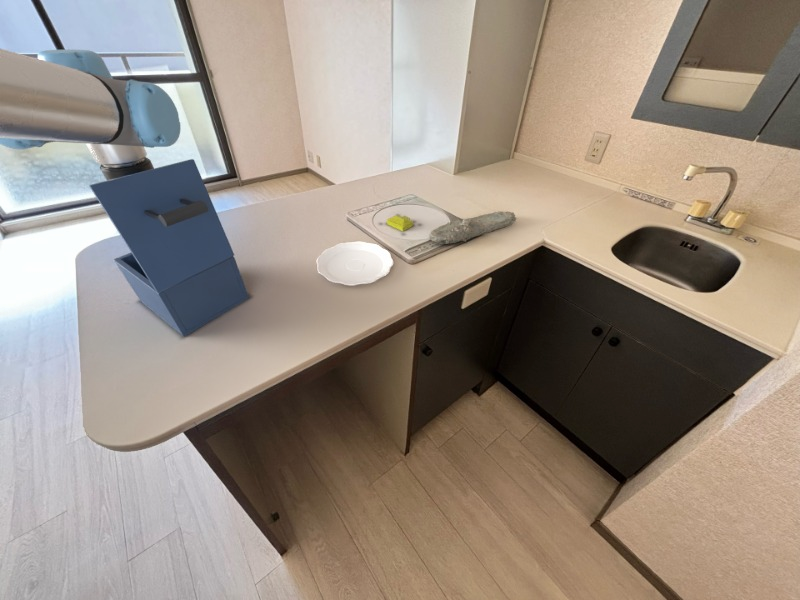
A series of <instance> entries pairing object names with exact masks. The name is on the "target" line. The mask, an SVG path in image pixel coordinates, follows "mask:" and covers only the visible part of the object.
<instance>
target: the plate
mask: <svg viewBox="0 0 800 600" xmlns="http://www.w3.org/2000/svg"><path fill="white" fill-rule="evenodd" d="M315 263H316V265H317V266H316V267H317V268H316V271H317V272H318V274H319V275H321V276H322V277H324V278H325V279H326V280H327V281H329V282H330V283H333V284H341V285H345V286H357V285H366V284H367V285H369V284H371V283H375V282H377V281H378V280H379V279H381V278H383V277H386V276H387V275H388V274H390V271H391V268H392V267H393V266H394V259H393V258H392V255H391V252H390V251H389V250H387V249H385V248H384V247H382V246H380V245H379V244H376V243H372V242H366V241H358V240H356V241H349V242H347V241H346V242H340V243H337V244H336V245H334V246H331V247H328V248H326V249H325V250H323V251H322V253H321V254H320V255H319V256H318V257H317V258H316V262H315Z"/></svg>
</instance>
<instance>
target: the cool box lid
mask: <svg viewBox="0 0 800 600" xmlns="http://www.w3.org/2000/svg"><path fill="white" fill-rule="evenodd" d="M88 187H89V188H90V190H91V191H92V193H93V195H94V196H95V198H96V200H97V201H98V202H99V204H100V206H101V207H102V209H103V210H104V212H105V213H106V215H107V217H108V219H109V220H110V222H111V223H112V224H113V226H114V228H115V229H116V231H117V233H118V234H119V236H120V237H121V239H122V240H123V242H124V244H125V245H126V247H127V248H128V250H129V251H130V253H132V254H133V256H134V257H135V259H136V260H137V262H138V264H139V265H140V267H141V268H142V270H143V271H144V273H145V275H146V276H147V278H148V279H149V281H150V282H151V284H152V285H153V287H154V289H155V290H156V291H157V292H160V291H162V290H164V289H166V288H168V287H170V286H172V285H174V284H176V283H178V282H181V281H183V280H185V279H187V278H189V277H191V276H193V275H195V274H197V273H199V272H201V271H203V270H205V269H207V268H209V267H211V266H213V265H215V264H218V263H220V262H222V261H224V260H226V259H228V258H230V257H232V256H234V257H235V253H234V251H233V248H232V246H231V243H230V241H229V239H228V237H227V234H226V232H225V229H224V227H223V225H222V222H221V221H220V218H219V216H218V213H217V211H216V208H215V205H214V204H213V201H212V199H211V197H210V194H209V192H208V190H207V187H206V185H205V183H204V180H203V177H202V176H201V173H200V171H199V168H198V166H197V164H196V161H195V159H193V158H190V159H186V160H183V161H178V162H175V163H170V164H166V165H162V166H158V167H154V169H151V170H147V171H143V172H139V173H135V174H131V175H127V176H123V177H119V178H115V179H111V180H104V181H100V182H96V183H92V184H88Z"/></svg>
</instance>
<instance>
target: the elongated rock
mask: <svg viewBox="0 0 800 600" xmlns="http://www.w3.org/2000/svg"><path fill="white" fill-rule="evenodd" d="M516 221H517V217H516V214H515V213H514V212H511V211H499V210H498V211H494V212H491V213H485V214H482V215H481V214H480V215H479V216H473V217H468V218H457V219H455V220H453V221H451V222H447V223H445V224H443V225H439V226H438V227H436V228H434V229H432V230H431V231H430V232H429V239H430V241H431V242H433V243H435V244H439V245H449V244H457V243H459V242H467V241H468V240H471V239H473V238H476V237H479V236H481V235H483V234H484V233H485V234H486V233H492V231H496V230H499V229H502V228H506V227H508V226H511V225H512V224H514V222H516Z"/></svg>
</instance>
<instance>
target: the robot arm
mask: <svg viewBox="0 0 800 600" xmlns="http://www.w3.org/2000/svg"><path fill="white" fill-rule="evenodd" d="M180 135H181V122H180V117H179V111H178V109H177V107H176V104H175V103H174V100H173V99H172V98H171V96H170V95H169V94H168V92H167V91H165V90H164V89H163V88H162V87H161V86H159V85H157V84H155V83H153V82H148V81H147V82H146V81H138V80H136V79H129V80H123V79H122V80H121V79H115V78H113V76H112V74H111V73H110V71H109V69H108V67H107V65H106V63H105V61H104V59H103V58H102V56H101V55H100V54H99V53H97V52H95V51H93V50H90V49H89V50H88V49H48V50H41V51H39V52H38V53H37V57H32V56H29V55H25V54H22V53H18V52H15V51H12V50H11V51H10V50H7V49H4V48H0V145H1V146H3V147H5V148H9V149H12V150H18V151H19V150H22V151H23V150H28V149H31V148H42V147H44V145H46V144H50V143H70V144H71V143H73V144H85V145H86V147H87V149H88V151H89V153H90V154H91V156H92V158H93V160H94V161H95V163H97V164H100V165H99V169H100V171H101V173H102V175H103V177H104V178H105V181H107V180H111V179H115V178H119V177H123V176H127V175H131V174H135V173H139V172H143V171H147V170H151V169H154V168H155V167H154V164H153V163H152V160H151V159H150V158H149V157H147V156H148V152H147V150H146V148H150V149H153V148H163V147H164V148H167V147H171V146H173V145H174V144H176V143H177V141H178V140H179V137H180Z"/></svg>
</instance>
